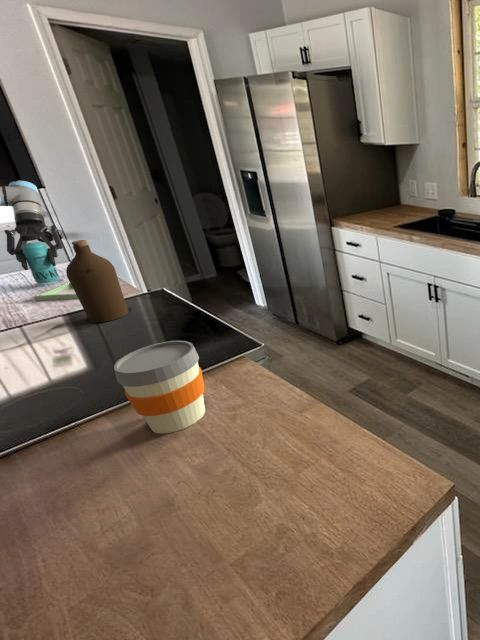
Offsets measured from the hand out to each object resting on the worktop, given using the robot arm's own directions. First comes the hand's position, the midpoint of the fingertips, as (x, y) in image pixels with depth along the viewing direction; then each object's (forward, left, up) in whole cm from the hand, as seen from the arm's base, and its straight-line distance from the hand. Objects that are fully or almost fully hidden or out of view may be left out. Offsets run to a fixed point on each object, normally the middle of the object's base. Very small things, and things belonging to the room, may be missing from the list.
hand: (39, 266), depth 154 cm
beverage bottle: (-2, +3, -9) cm, 9 cm away
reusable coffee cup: (+99, -90, -9) cm, 134 cm away
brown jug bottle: (+45, -33, -9) cm, 57 cm away
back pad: (+17, -10, -8) cm, 22 cm away
